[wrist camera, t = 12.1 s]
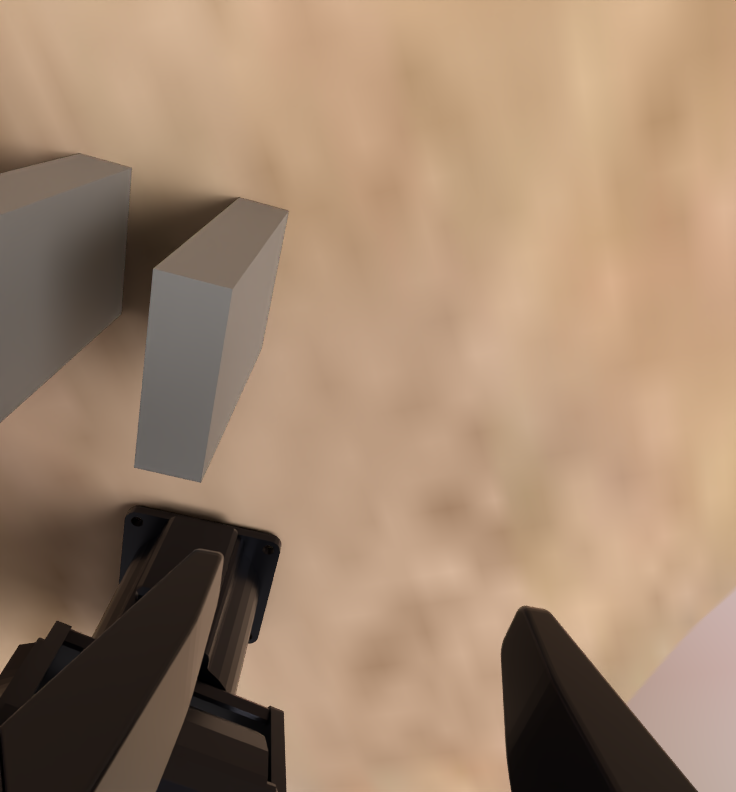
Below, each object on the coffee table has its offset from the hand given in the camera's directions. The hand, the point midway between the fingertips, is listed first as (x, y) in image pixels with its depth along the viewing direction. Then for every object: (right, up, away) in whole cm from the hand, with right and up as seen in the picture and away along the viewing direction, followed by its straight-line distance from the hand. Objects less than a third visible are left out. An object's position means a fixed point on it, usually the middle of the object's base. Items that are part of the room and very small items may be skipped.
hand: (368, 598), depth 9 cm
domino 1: (-9, +8, +11) cm, 16 cm away
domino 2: (-4, +7, +11) cm, 14 cm away
